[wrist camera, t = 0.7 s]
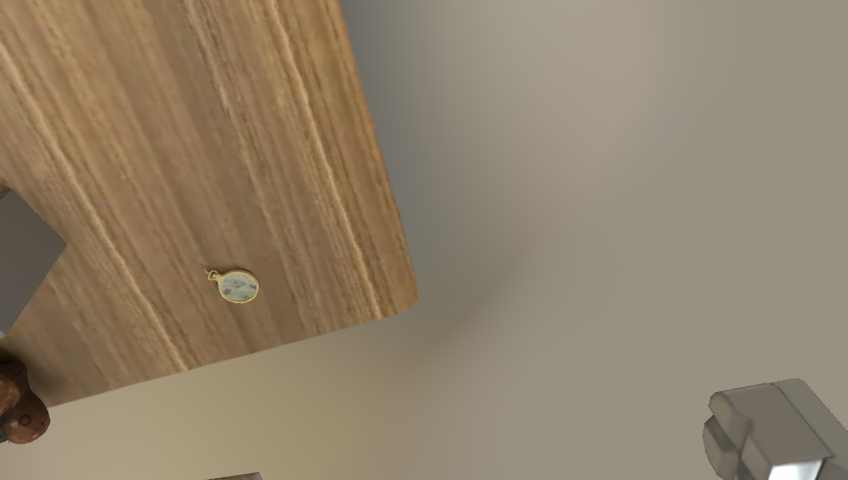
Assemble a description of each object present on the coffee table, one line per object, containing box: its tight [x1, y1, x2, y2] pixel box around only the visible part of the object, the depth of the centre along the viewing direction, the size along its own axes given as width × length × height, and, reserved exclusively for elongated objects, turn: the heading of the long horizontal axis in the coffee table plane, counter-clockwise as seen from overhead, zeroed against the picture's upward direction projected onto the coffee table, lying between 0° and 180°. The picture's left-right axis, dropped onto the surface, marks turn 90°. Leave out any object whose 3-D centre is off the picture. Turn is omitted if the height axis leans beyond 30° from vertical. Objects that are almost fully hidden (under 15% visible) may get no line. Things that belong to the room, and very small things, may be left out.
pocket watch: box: [203, 267, 259, 303], centre depth 64 cm, size 6×4×1 cm, turn 55°
